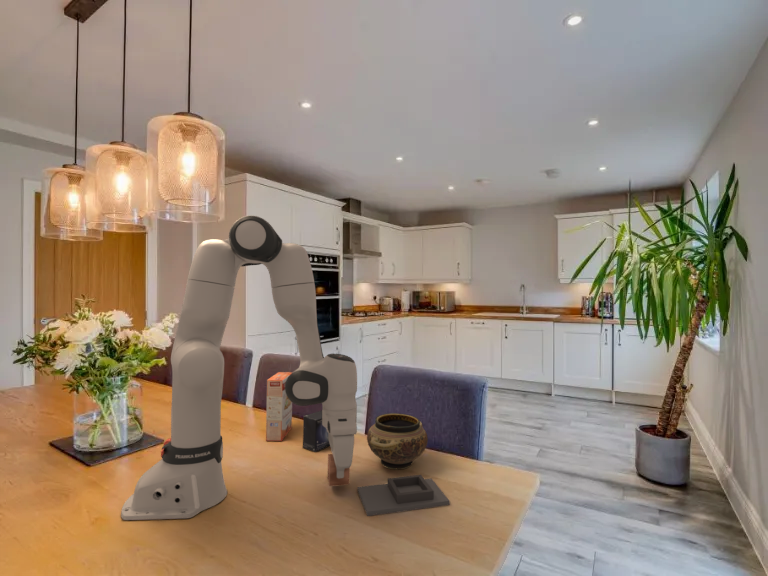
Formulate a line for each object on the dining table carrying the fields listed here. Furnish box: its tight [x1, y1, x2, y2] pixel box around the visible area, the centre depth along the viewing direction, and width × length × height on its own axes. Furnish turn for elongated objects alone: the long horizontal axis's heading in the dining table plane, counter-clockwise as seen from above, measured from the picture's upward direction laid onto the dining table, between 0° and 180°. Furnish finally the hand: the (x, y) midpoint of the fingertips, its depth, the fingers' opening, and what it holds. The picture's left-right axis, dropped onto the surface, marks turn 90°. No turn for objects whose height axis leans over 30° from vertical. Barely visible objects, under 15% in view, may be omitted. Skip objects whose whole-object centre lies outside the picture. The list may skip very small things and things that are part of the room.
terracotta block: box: [327, 453, 351, 487], centre depth 105 cm, size 5×5×6 cm
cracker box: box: [265, 371, 293, 442], centre depth 145 cm, size 14×6×21 cm, turn 179°
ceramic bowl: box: [366, 412, 429, 470], centre depth 121 cm, size 24×18×15 cm
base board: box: [357, 474, 451, 517], centre depth 101 cm, size 20×12×3 cm, turn 104°
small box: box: [302, 410, 330, 453], centre depth 135 cm, size 11×6×10 cm, turn 143°
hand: (338, 471), depth 105 cm, fingers closed on terracotta block, 5 cm apart
